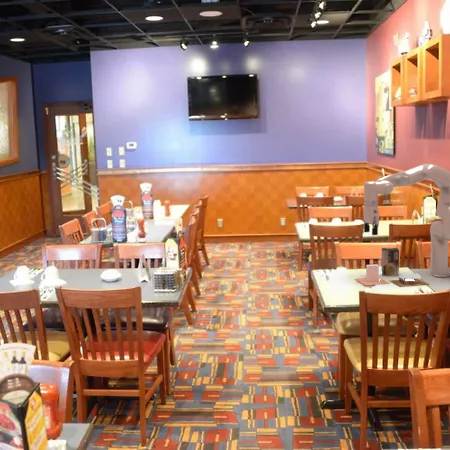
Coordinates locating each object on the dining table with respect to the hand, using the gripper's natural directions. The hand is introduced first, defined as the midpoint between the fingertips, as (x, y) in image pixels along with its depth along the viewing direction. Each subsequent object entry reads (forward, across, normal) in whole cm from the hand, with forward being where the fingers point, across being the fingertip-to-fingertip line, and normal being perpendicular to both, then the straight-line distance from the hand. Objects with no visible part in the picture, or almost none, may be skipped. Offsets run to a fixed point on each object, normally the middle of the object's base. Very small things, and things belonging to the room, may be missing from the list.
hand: (370, 233), depth 341 cm
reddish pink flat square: (+26, -7, +3) cm, 28 cm away
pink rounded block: (+26, -7, +3) cm, 27 cm away
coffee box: (+27, +3, -14) cm, 30 cm away
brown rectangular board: (+27, -16, -15) cm, 35 cm away
